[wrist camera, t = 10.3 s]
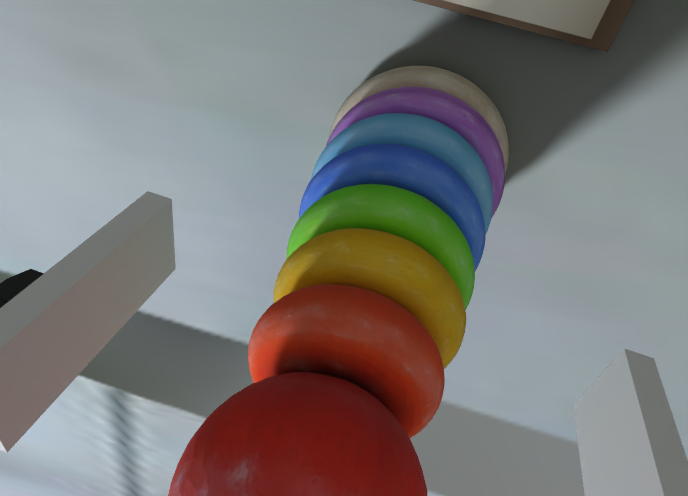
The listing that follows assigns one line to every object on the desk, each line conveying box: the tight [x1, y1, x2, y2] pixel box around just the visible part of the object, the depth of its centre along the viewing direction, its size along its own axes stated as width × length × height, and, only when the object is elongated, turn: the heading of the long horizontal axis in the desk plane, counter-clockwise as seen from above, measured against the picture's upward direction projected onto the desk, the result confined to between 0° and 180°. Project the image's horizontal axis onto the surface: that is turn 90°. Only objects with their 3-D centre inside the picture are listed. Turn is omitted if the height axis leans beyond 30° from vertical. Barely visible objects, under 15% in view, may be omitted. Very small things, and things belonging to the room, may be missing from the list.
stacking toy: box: [168, 66, 509, 496], centre depth 14 cm, size 8×8×19 cm
